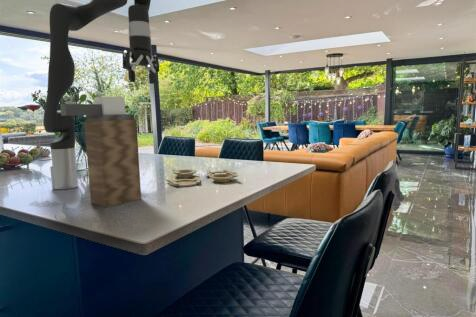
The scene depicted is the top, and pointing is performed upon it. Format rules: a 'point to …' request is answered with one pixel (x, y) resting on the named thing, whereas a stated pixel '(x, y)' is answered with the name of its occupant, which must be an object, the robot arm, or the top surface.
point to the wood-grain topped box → (112, 159)
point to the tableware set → (191, 182)
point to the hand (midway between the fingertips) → (142, 82)
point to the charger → (96, 107)
